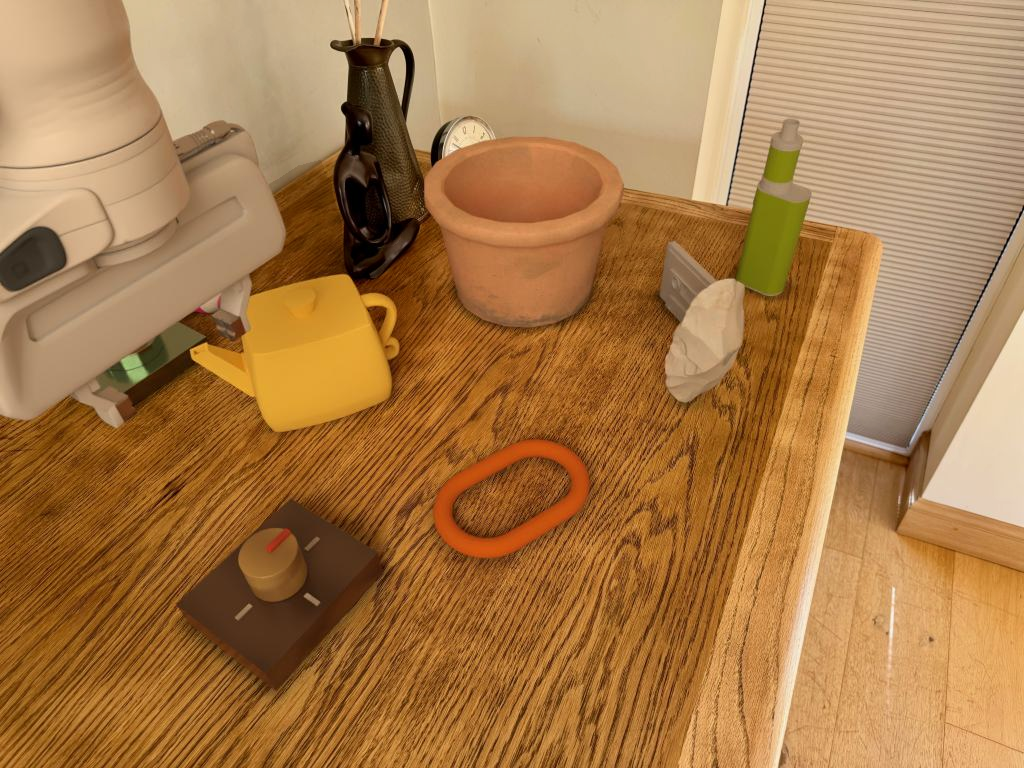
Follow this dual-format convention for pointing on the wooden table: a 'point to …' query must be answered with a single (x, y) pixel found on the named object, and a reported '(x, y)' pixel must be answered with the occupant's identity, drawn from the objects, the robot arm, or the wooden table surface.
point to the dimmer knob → (273, 564)
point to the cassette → (681, 280)
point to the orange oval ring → (529, 528)
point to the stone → (706, 340)
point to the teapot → (310, 353)
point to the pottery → (523, 225)
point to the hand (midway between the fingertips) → (181, 373)
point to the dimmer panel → (293, 621)
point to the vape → (775, 216)
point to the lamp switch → (153, 363)
